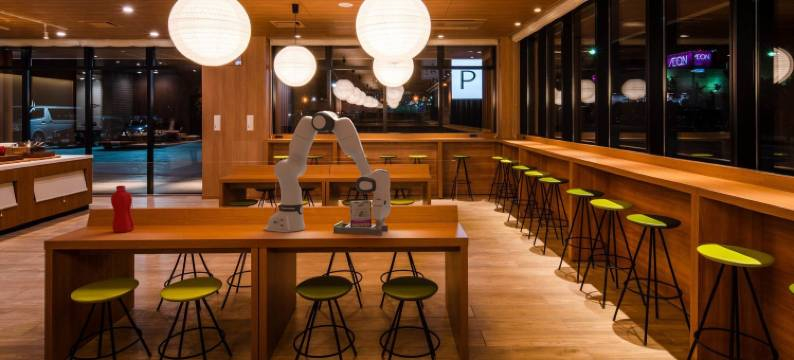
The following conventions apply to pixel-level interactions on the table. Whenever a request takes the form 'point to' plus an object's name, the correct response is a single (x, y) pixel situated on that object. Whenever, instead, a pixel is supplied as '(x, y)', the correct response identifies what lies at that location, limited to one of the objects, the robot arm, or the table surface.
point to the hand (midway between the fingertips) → (382, 225)
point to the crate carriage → (369, 227)
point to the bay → (358, 229)
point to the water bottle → (122, 210)
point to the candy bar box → (360, 213)
